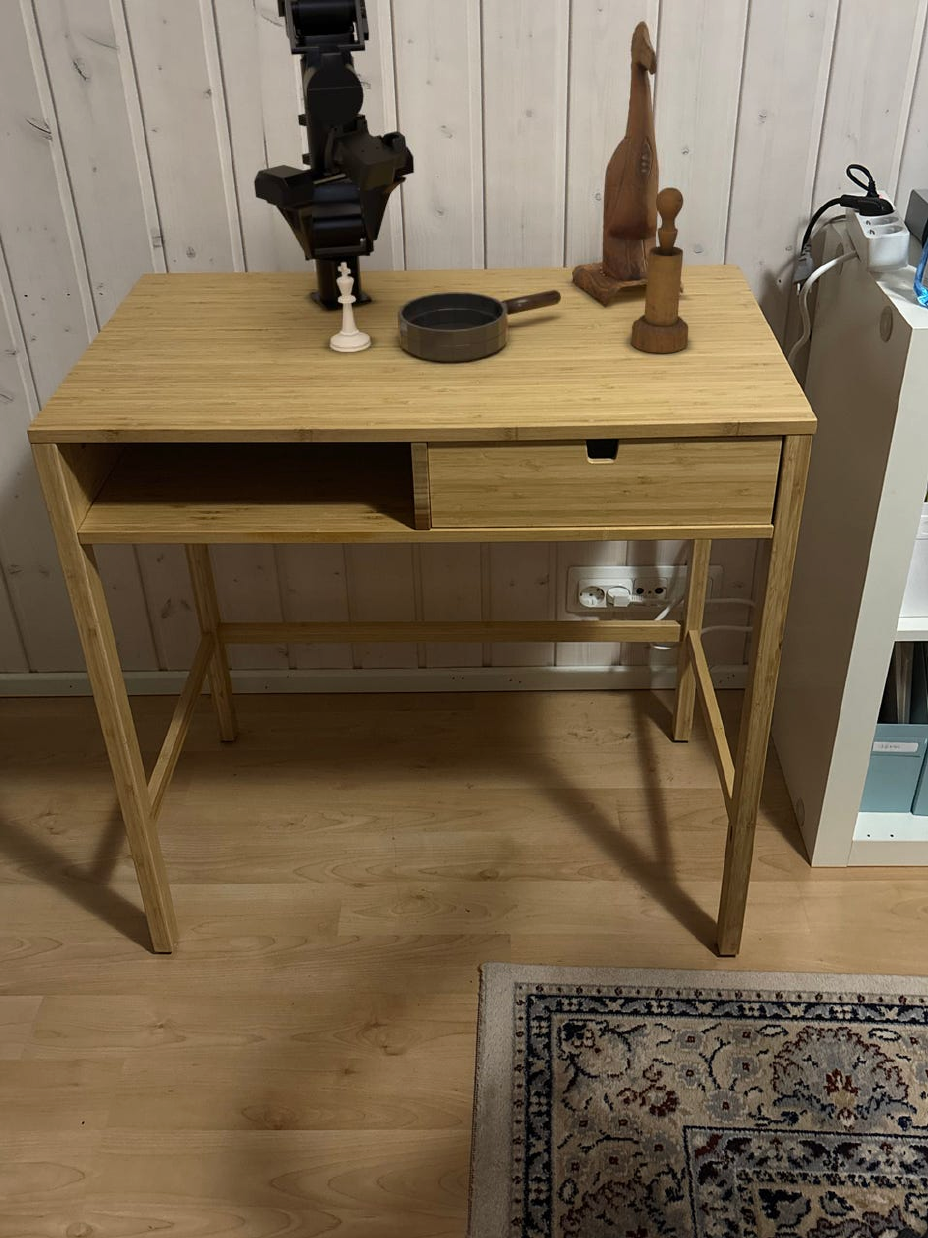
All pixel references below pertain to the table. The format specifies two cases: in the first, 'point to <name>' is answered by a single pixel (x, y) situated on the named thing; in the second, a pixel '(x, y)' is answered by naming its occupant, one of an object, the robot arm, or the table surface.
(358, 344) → the chess piece
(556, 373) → the table surface
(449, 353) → the pan
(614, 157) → the bird sculpture
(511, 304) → the pan handle
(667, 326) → the mortar and pestle
